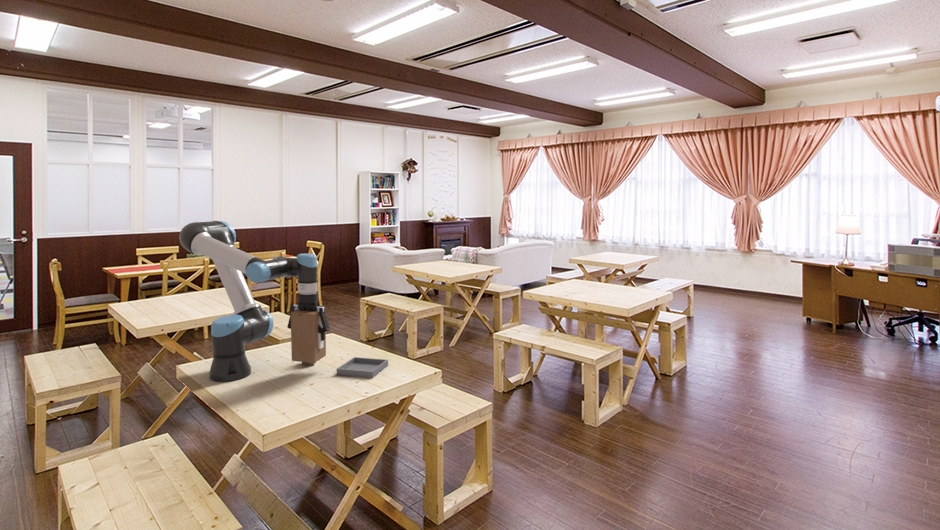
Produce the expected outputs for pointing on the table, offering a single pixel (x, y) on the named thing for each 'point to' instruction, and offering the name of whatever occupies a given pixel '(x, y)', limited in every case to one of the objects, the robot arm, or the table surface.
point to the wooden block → (306, 336)
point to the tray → (362, 367)
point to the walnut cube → (308, 364)
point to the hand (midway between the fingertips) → (308, 346)
